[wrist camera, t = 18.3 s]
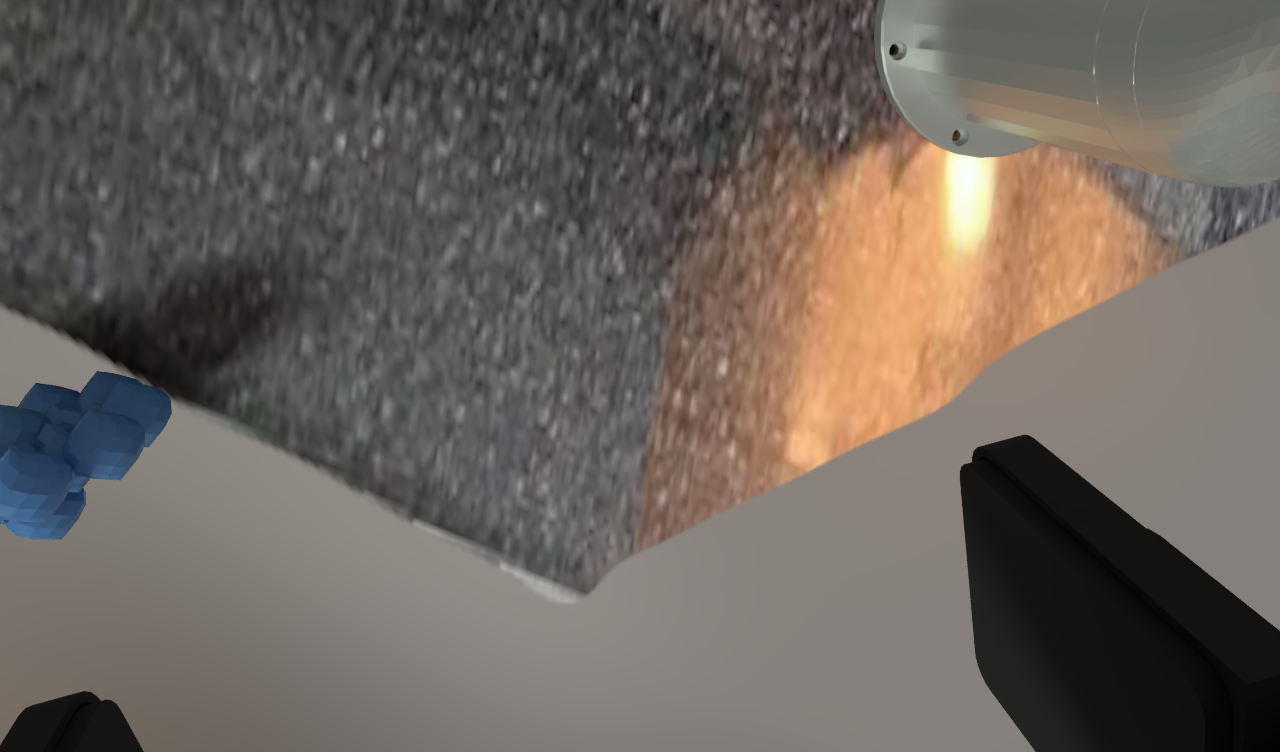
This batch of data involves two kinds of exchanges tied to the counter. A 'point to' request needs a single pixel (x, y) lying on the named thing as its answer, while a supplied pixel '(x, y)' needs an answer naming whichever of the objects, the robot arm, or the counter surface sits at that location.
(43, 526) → the grapes
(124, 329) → the counter surface
